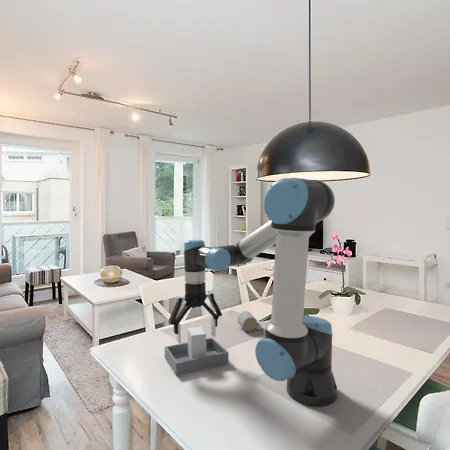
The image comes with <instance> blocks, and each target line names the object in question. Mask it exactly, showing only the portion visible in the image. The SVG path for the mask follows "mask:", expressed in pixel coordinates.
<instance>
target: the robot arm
mask: <svg viewBox="0 0 450 450" xmlns="http://www.w3.org/2000/svg"><path fill="white" fill-rule="evenodd" d="M335 201H336V200H335V194H334V192H333V190H332V188H331V187H330V186H329V185H328V184H327V183H326V182H324V181H322V180H316V179H306V178H299V177H285V178H279V179H278V180H276V181H275V182H273V183H272V184H271V185H270V187H268V189H267V191H266V193H265V195H264V198H263V211H264V214H266V217H267V219H268V221H267V222H266V223H264V224H263V225H261V226H260V227H258V228H256V230H254V231H253V232H251V233H250V234H247V236H245V237H244V238H242V239H241V240H240V241H238V242H236V243H235V244H231V245H223V246H222V245H221V246H206V245H205V241H204V240H203V239H189V240H186V241H184V246H183V261H184V262H183V263H184V281H185V283H184V290H185V291H184V292H185V293H184V294H185V295H184V296H182V297H181V296H176V302H175V305H174V307H173V310H172V312H171V313H170V316H169V318H168V323H169V324H170V325H173V333H174V334H175V335H176V342H177V344H182V333H181V332H182V331H181V324H180V323H181V322H182V320H183V319H184V317H185V316H186V315H187V313H188V311H189V310H191V308H192V309H196V308H201V307H203V308H204V309H205V310H206V311H207V312H208V313H209V314H210V315H211V316H212V317H210V335H211V336H212V337H214V338H215V337H216V334H217V333H216V327H218V320H219V318H220V317H222V316H223V312H221V309H220V307H219V306H218V304H217V303H218V302H216V299H215V294H214V293H213V292H211V291H209V292H208V293H206V289H207V288H206V282H205V281H206V269H208V270H212V271H225V270H226V269H227V268H228V267H234V266H240V265H246V264H249V263H252V261H253V260H254V258H255V257H256V256H257V255H260V254H261V253H262V252H265V251H266V250H268V249H269V248H271V247H273V246H274V245H275V248H274V249H275V251H274V253H275V254H274V267H273V284H272V299H271V300H272V301H271V315H270V316H271V318H270V319H269V320H268V321H267V322H266V323H265V326H264V328H265V329H264V337H262V338H261V339H259V341H257V343H256V345H255V352H254V353H255V358H256V360H257V361H256V362H257V364H258V365H259V367H260V369H261V370H262V372H264V374H265V375H266V376H267V377H269V378H270V379H271V380H274V381H277V382H284V381H286V392H287V394H288V395H289V396H290V397H291V398H292V399H293V400H294V401H295V402H298V403H301V404H303V405H308V406H313V407H322V406H328V405H331V404H333V403H335V402H336V400H337V398H338V386H337V383H336V379H335V375H334V374H333V373H334V372H333V370H332V365H333V363H332V362H333V361H332V360H333V359H332V358H333V355H332V354H333V353H332V352H333V326H332V323H331V322H330V321H329V320H327V319H325V318H322V317H318V316H314V315H308V314H307V315H306V314H304V311H305V300H306V299H305V295H306V283H307V272H308V271H307V269H308V254H309V241H310V237H311V236H312V235H313V234H314V233H315V232H316V226H317V224H318V223H320V222H321V221H323V220H325V219H326V218H327V217H329V216H330V214H331V213H332V212H333V210H334V207H335ZM207 299H209V301H210V304H211V305H212V308H213V309H214V310H212V309H211V307H210V306H209V305H208V304H207V303H206V302H205V301H206V300H207ZM184 301H185V303H184ZM183 303H184V305H183V307H182V309H181V306H182V304H183Z"/></svg>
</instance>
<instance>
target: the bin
mask: <svg viewBox="0 0 450 450" xmlns="http://www.w3.org/2000/svg"><path fill="white" fill-rule="evenodd" d="M164 359H165V360H166V362H167V363H168V365H169V367H170V368H171V370H172V372H173V374H175V376H181V375H186V374H190V373H194V372H199V371H203V370H207V369H211V368H216V367H220V366H224V365H228V364H229V362H230V361H229V351H228V350H227V349H225V347H223V346H222V345H221V343H219V342H218V341H217V340H216V339H215V337H214V338H213V337H208V338H207V337H206V356H203V357H199V358H194V359H190V358H189V355H188V341H187V342H181V343H180V344H179V343H177V344H172V345H167V346H164Z"/></svg>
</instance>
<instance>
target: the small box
mask: <svg viewBox="0 0 450 450" xmlns="http://www.w3.org/2000/svg"><path fill="white" fill-rule="evenodd" d="M206 339H207V333H206V332H205V329H204V328H203V327H202V326H197V327H188V328H187V342H188V355H189V358H190V359H194V358H199V357H203V356H206Z"/></svg>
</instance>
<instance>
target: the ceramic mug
mask: <svg viewBox="0 0 450 450" xmlns="http://www.w3.org/2000/svg"><path fill="white" fill-rule="evenodd" d="M237 323H238V325H239V326H240V327H241V328H242V329H243V330H244V331H245V332H247V333H248V332H249V333H252V332H254V331H256V329H257V330H261V329H262V327H263V325H262V324H261V323H259V322H258V321H257V319H256V318H255V316H254V315H253V314H252V313H251V312H250V311H247V310H244V311H241V312H240V313H239V314H238V317H237Z"/></svg>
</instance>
